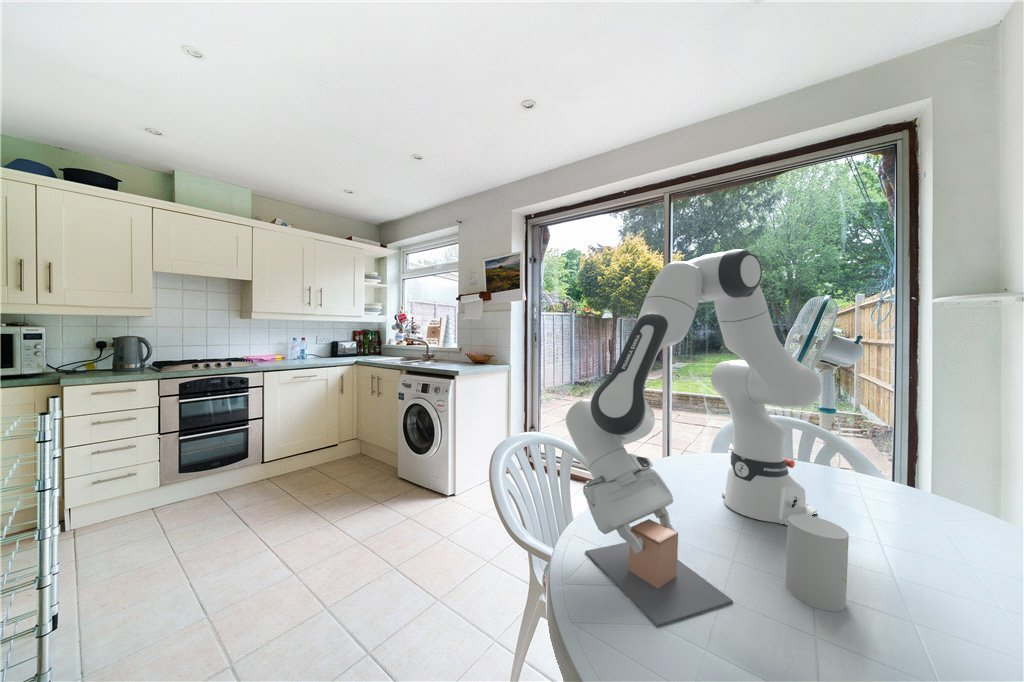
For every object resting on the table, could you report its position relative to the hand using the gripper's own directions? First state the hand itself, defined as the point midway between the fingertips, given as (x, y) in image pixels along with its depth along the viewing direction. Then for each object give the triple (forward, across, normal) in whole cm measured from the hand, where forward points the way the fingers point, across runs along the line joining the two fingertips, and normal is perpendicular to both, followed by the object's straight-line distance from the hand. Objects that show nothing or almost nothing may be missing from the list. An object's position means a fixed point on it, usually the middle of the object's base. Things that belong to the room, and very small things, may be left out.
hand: (656, 542), depth 67 cm
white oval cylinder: (+18, +20, -8) cm, 28 cm away
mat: (+4, 0, +5) cm, 6 cm away
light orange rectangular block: (+4, 0, +5) cm, 6 cm away
